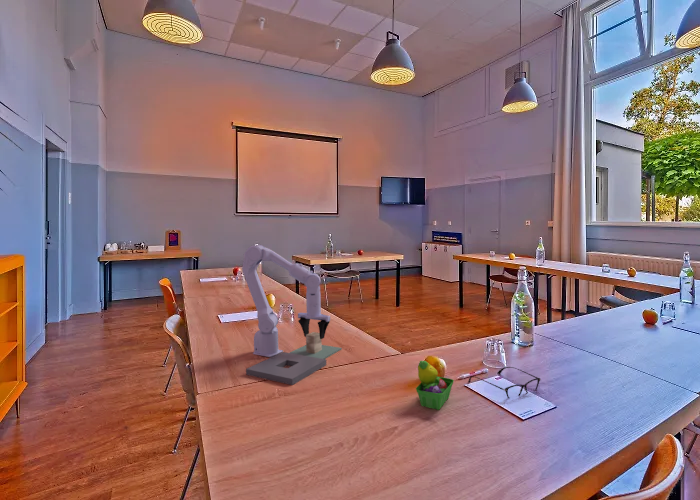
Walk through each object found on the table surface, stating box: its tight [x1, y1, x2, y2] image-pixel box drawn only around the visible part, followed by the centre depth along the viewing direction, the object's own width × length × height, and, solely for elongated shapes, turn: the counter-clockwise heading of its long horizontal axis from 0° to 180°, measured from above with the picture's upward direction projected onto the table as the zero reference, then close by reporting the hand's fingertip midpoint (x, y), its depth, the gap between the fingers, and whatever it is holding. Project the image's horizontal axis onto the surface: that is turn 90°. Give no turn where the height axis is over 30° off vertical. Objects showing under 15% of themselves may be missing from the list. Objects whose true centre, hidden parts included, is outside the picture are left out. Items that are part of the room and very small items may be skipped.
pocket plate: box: [245, 351, 327, 386], centre depth 132 cm, size 20×20×2 cm
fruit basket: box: [415, 360, 455, 411], centre depth 105 cm, size 11×9×11 cm
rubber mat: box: [289, 344, 343, 360], centre depth 150 cm, size 16×16×1 cm
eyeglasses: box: [468, 366, 541, 399], centre depth 115 cm, size 16×16×4 cm
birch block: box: [305, 331, 323, 354], centre depth 150 cm, size 4×5×7 cm
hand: (314, 337), depth 150 cm, fingers open, 7 cm apart
